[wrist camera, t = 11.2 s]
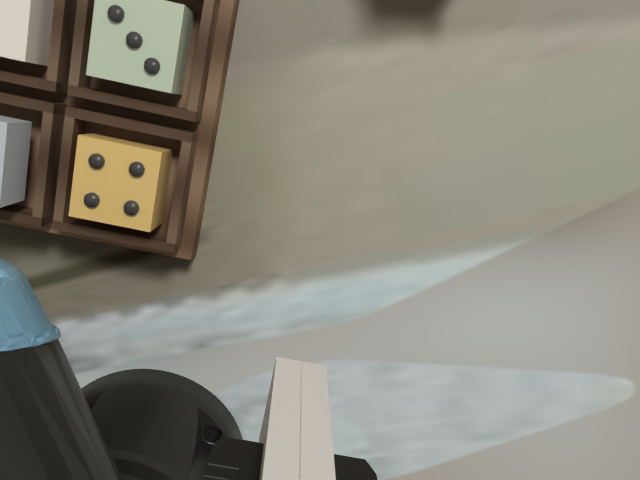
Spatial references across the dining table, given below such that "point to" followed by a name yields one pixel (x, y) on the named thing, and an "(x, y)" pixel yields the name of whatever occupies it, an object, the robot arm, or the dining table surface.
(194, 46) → the wooden compartment tray
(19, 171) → the button two
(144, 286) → the dining table surface
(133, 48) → the button three
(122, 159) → the button four
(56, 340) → the robot arm
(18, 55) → the button one
